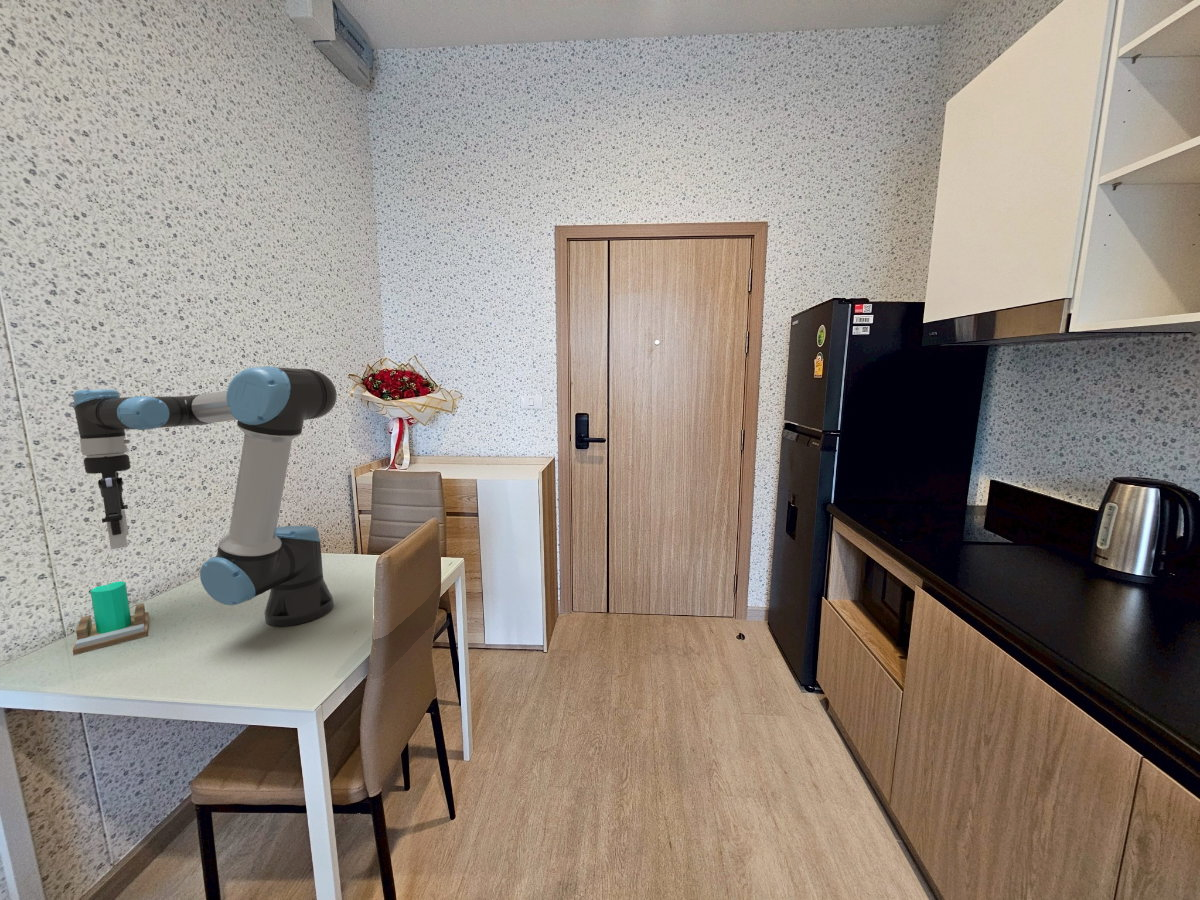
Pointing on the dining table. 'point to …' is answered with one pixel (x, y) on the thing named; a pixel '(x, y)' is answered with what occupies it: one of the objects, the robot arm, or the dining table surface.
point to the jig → (89, 630)
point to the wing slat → (109, 635)
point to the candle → (111, 607)
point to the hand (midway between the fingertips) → (120, 541)
